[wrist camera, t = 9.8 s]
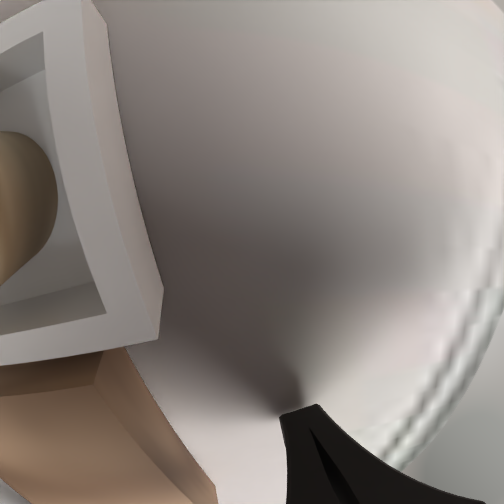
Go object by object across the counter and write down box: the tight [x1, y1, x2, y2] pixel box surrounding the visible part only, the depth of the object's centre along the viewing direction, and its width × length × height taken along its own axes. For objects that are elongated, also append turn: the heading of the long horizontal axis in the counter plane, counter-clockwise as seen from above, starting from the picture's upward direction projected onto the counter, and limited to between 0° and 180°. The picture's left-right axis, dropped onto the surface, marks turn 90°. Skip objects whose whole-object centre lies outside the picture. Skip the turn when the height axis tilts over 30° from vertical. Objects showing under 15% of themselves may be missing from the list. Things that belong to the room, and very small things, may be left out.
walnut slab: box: [0, 346, 218, 504], centre depth 8 cm, size 10×8×3 cm
